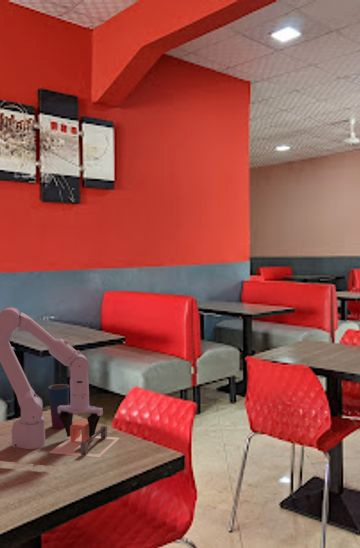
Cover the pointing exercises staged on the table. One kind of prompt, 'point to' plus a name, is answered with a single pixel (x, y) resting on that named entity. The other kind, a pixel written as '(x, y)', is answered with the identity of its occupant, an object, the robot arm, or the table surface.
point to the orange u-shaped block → (76, 429)
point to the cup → (58, 402)
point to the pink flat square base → (83, 444)
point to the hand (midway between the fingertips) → (80, 436)
